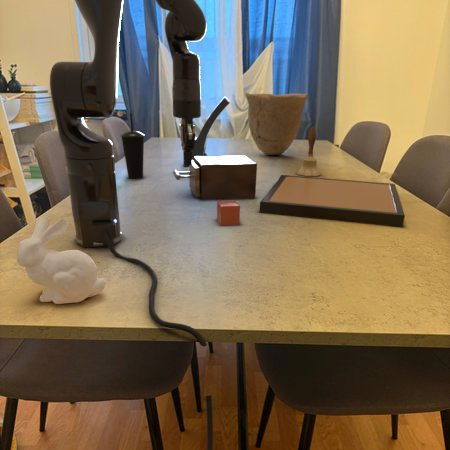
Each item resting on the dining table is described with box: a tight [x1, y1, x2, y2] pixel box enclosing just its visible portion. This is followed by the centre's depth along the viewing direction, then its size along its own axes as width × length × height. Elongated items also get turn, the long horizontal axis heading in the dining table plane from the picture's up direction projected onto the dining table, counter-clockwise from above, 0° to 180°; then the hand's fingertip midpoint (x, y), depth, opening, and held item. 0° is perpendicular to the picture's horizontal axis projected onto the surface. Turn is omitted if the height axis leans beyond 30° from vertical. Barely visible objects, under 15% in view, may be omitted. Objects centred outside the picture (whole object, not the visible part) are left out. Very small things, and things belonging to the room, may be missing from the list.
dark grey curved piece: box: [183, 96, 232, 167], centre depth 163 cm, size 11×17×24 cm, turn 87°
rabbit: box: [16, 214, 106, 305], centre depth 67 cm, size 12×9×12 cm
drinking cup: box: [120, 112, 145, 180], centre depth 141 cm, size 8×8×20 cm
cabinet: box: [194, 155, 258, 201], centre depth 127 cm, size 16×13×10 cm
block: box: [216, 200, 241, 226], centre depth 104 cm, size 5×5×5 cm
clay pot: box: [244, 92, 309, 156], centre depth 187 cm, size 27×28×25 cm
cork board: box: [259, 174, 406, 228], centre depth 123 cm, size 36×3×35 cm
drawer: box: [172, 160, 201, 198], centre depth 126 cm, size 20×12×8 cm, turn 103°
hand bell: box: [297, 126, 321, 177], centre depth 154 cm, size 8×8×16 cm
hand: (187, 164), depth 123 cm, fingers closed
